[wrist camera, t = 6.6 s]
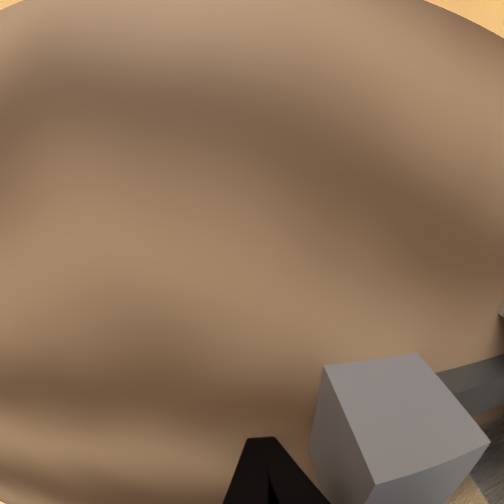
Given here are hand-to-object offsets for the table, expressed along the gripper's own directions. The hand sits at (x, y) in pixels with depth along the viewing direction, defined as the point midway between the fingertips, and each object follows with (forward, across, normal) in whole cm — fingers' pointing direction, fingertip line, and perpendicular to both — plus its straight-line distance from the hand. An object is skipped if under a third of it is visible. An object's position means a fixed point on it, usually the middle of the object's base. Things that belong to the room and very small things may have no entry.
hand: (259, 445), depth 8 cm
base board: (+2, -12, 0) cm, 12 cm away
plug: (+1, -11, 0) cm, 11 cm away
